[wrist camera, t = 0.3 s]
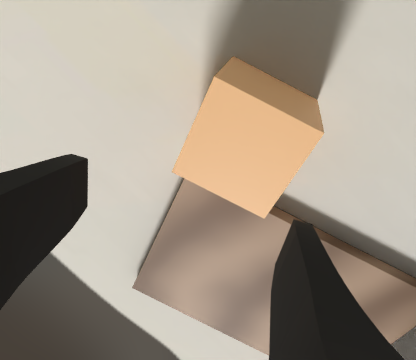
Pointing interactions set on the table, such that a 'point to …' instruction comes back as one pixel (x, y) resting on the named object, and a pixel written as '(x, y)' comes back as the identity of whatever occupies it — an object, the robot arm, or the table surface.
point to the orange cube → (249, 137)
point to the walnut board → (255, 269)
